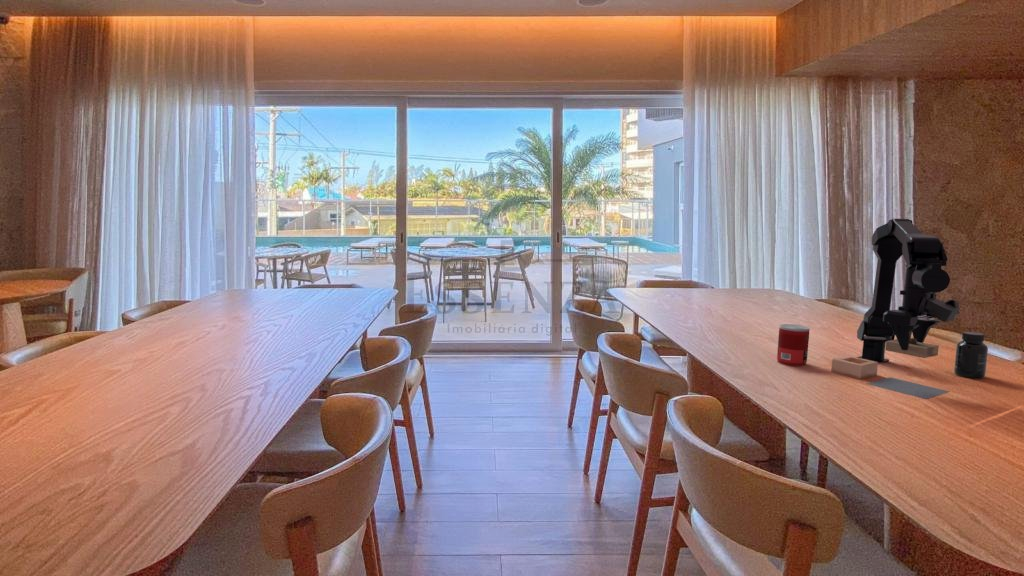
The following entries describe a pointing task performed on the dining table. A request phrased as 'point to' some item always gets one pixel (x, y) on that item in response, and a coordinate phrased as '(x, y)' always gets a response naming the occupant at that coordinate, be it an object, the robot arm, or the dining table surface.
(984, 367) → the supplement bottle
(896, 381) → the mat
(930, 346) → the lid
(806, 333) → the canned food
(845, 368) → the tan box
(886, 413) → the dining table surface
